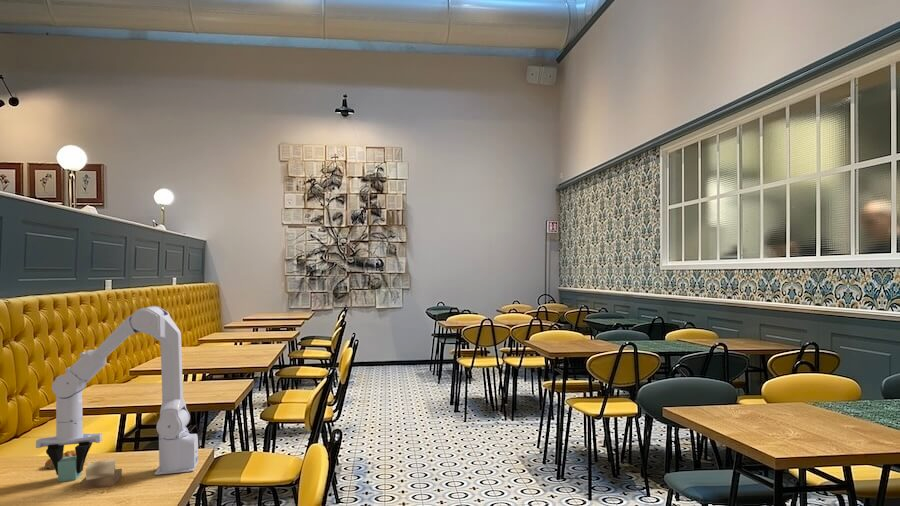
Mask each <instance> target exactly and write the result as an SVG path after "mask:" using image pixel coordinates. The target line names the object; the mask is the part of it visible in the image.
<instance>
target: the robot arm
mask: <svg viewBox="0 0 900 506" xmlns="http://www.w3.org/2000/svg"><path fill="white" fill-rule="evenodd" d="M138 333H143V334H146V335H150V337H152V338H154V339H155V340H157V341H159V342H160V364H161V368H160V369H161V372H160V373H161V400H162V401H161V406H160V408H159V409H160V410H159V419H158V420H157V423H156V431H157V433H158V461H159V462H158V468H157V470H156V471H155V472H154V475H155V476H158V475H168V474H169V475H170V474H177V473H189V472H194V471H195V469H196V467H197V466H198V464H199V461H200V460H199V435H198V433H190V431H189V429H188V427H187V426H188V425H189V423H190V420H191V415H190V412H189V410H188V409H187V403H186V400H185V398H184V387H183V385H184V384H183V383H184V382H183V355H182V354H183V351H182V349H183V348H182V346H183V345H182V332H181V329H179V327H178V326H177V325H176V323H175V321H174V320H173V319H172V317H171V314H170V312H168V311H167V310H165V309H163V308H162V307H160V306H158V305H150V306H148V307H142V308H138V309H136V310H135V311H133V313H132V314H131V315H129V316H127V317H126V318H125V319H124V320H123V321H122V322H120V324H119V325H117V327H116V328H115V329H114V330H113V331H112V332H111V333H110V335H109V336H107V338H105V340H104V341H103V342H101V344H100V345H99V346H98V347H97V348H96V349H88V350H87V351H83V352H81V353H80V354H79V355H78V357H79V359H77V360H76V362H75V363H74V364H72V365H71V366H69V367H66V368H65V370H64V371H65V374H61V375H58V376H56V377H55V379H54V380H53V382H52V384H51V390H52V392H53V394H54V395H55V398H56V399H55V401H56V403H55V412H56V413H55V421H56V422H55V423H56V424H55V426H56V428H55V430H56V432H55V435H54V436H49V437H43V438H42V437H40V438H38V439H36V440H35V448H36V449H40V448H44V447H47V449H46V450H45V452H46V453H45V454H46V455H48V457H49V459H51V460H52V462H53V465H54V467H55V469H54V470H55V473H56V476H58V462H59V461H60V460H61V459H62V458H63V453H64V449H65V446H67V445H68V446H70V445H76V446H75V447H74V450H75V451H76V457H77V473H80V472H81V473H82V472H83V471H84V465H85V463H86V461H85V459H86V460H87V456H88V453H89V451H90V449H91V447H92V446H93V443H96V444H99V443H101V442H102V441H103V433H83V432H84V429H83V428H84V427H83V426H84V424H83V421H84V419H83V413H84V412H83V411H84V410H83V409H84V408H83V391H84V390H85V389H86V387H87V383H90V381H91V380H92V379H93V378H94V377H95V376H96V375H97V374H98V373H100V371H101V370H102V369H103V368H104V367H105V366H107V357H108V356H109V355H110V354H111V353H112V352H114V351H115V350H116V349H117V348H119V346H120V345H122V343H124V342H125V341H126V340H127V339H128V338H129V337H130V336H132V335H134V334H138ZM84 462H85V463H84Z"/></svg>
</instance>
